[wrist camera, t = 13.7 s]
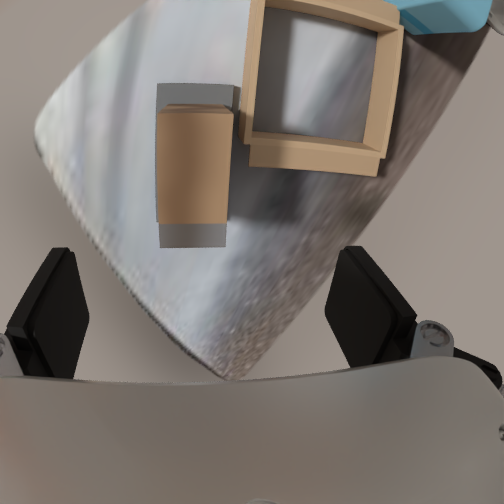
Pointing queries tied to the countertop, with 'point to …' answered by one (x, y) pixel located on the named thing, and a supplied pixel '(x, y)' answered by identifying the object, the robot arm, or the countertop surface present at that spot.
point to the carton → (381, 99)
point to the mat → (190, 102)
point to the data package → (442, 15)
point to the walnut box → (193, 174)
